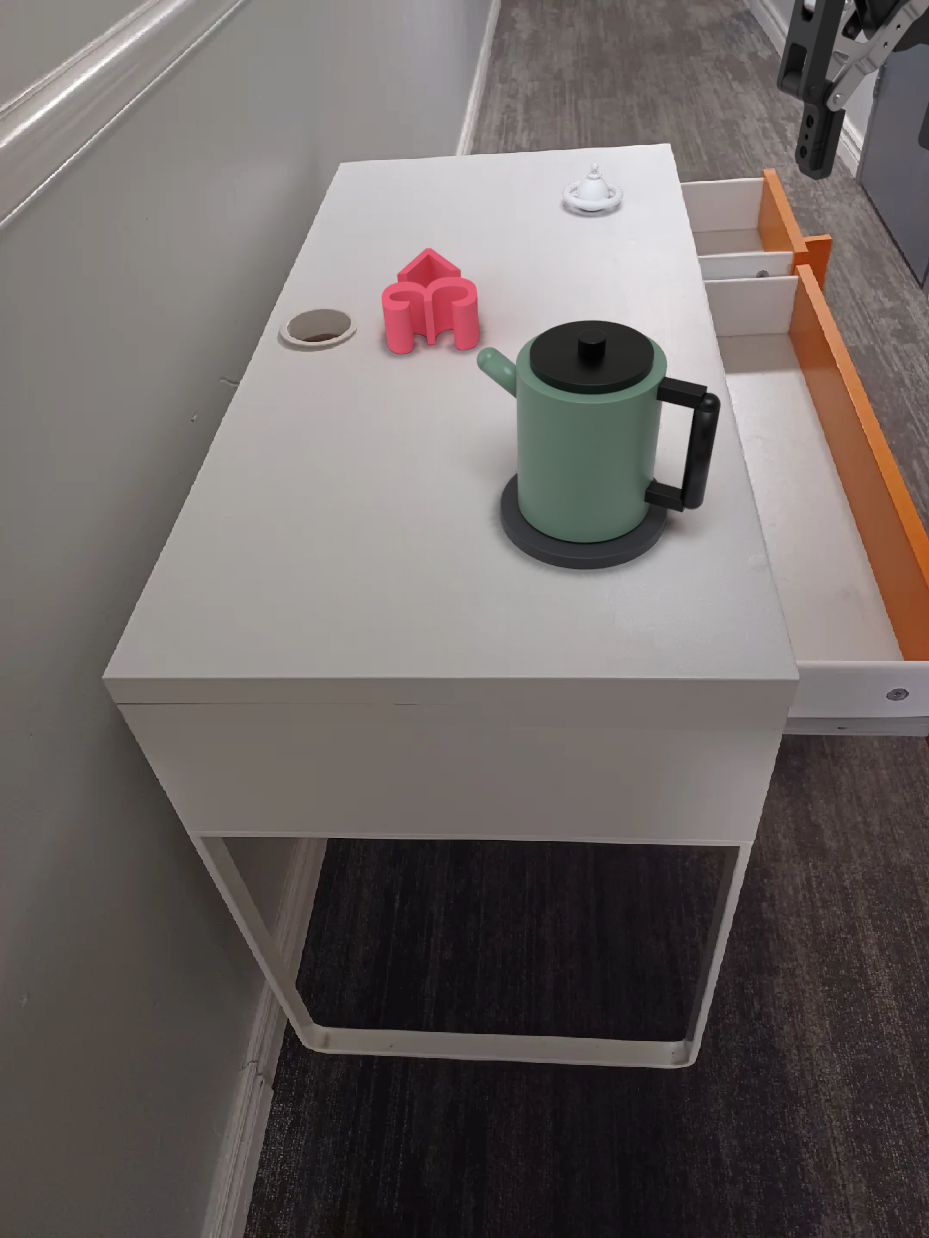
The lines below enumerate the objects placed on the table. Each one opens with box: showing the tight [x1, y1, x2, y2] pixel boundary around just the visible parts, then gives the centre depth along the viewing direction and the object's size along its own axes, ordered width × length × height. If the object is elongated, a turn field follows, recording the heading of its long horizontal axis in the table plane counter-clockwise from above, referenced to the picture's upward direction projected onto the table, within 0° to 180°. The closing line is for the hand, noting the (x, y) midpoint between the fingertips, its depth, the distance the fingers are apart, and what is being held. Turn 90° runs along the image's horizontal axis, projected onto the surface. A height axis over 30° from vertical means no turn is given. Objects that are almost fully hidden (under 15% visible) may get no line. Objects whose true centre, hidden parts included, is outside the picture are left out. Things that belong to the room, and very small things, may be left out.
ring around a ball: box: [561, 162, 624, 212], centre depth 115 cm, size 8×6×8 cm
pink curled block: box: [381, 247, 480, 355], centre depth 97 cm, size 14×10×5 cm
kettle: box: [476, 319, 722, 542], centre depth 68 cm, size 19×11×15 cm, turn 61°
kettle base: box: [499, 471, 668, 570], centre depth 75 cm, size 14×14×1 cm
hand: (874, 162), depth 52 cm, fingers open, 8 cm apart
